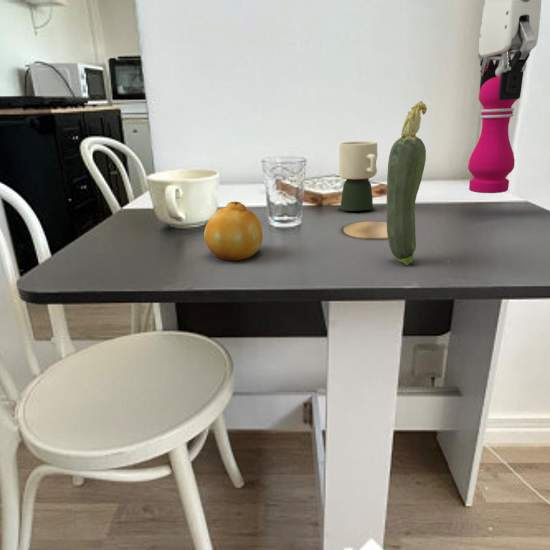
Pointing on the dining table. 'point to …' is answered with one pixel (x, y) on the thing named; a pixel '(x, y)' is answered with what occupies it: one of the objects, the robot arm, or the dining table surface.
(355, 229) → the coaster
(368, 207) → the character mug
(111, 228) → the dining table surface
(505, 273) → the dining table surface
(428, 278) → the dining table surface
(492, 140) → the pepper mill
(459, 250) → the dining table surface
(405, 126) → the vegetable
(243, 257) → the fruit
